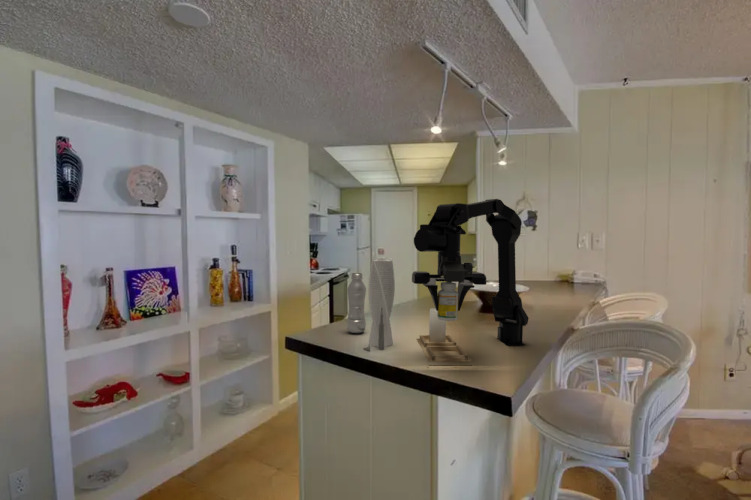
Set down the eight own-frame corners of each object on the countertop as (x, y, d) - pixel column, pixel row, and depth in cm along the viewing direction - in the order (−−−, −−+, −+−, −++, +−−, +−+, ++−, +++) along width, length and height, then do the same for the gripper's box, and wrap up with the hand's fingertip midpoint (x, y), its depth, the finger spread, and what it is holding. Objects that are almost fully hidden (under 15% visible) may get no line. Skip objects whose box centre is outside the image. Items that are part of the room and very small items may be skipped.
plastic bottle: (344, 334, 130) (345, 274, 130) (349, 330, 137) (349, 272, 136) (363, 335, 129) (364, 274, 128) (367, 331, 136) (368, 272, 135)
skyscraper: (359, 348, 114) (361, 251, 113) (378, 343, 120) (380, 251, 119) (381, 354, 108) (383, 252, 108) (400, 349, 114) (401, 252, 114)
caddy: (451, 342, 122) (451, 334, 122) (472, 365, 100) (472, 356, 100) (416, 342, 122) (416, 334, 122) (428, 365, 100) (429, 356, 100)
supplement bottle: (451, 322, 101) (452, 284, 101) (433, 319, 104) (434, 282, 104) (461, 319, 105) (462, 282, 105) (443, 316, 108) (444, 281, 108)
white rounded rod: (443, 340, 120) (444, 307, 119) (447, 345, 115) (447, 311, 114) (427, 340, 119) (428, 307, 119) (430, 345, 115) (431, 310, 114)
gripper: (418, 252, 96) (417, 316, 96) (494, 253, 97) (492, 317, 97) (412, 250, 107) (410, 308, 107) (480, 251, 108) (478, 308, 108)
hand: (447, 310), depth 105 cm, fingers closed on supplement bottle, 5 cm apart
